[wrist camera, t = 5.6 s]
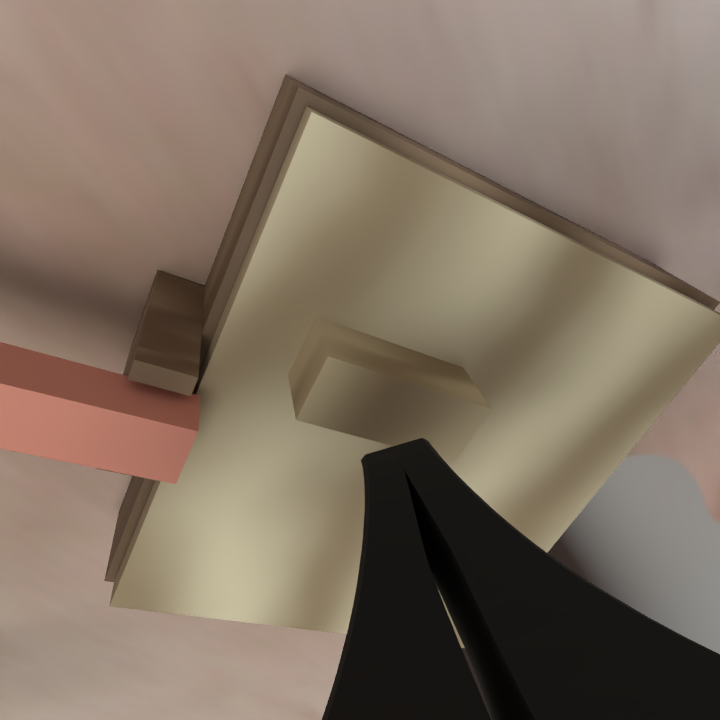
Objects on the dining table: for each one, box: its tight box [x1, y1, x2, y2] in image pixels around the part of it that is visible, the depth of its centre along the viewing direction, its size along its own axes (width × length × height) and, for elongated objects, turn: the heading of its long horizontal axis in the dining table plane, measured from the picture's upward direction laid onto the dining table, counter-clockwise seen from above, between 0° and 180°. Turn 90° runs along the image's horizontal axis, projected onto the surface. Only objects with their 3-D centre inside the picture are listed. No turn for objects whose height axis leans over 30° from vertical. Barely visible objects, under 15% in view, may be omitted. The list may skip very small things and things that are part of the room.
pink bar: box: [0, 342, 201, 484], centre depth 14 cm, size 9×2×2 cm, turn 63°
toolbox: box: [97, 75, 720, 582], centre depth 21 cm, size 18×18×6 cm
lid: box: [110, 106, 720, 648], centre depth 19 cm, size 15×17×3 cm
